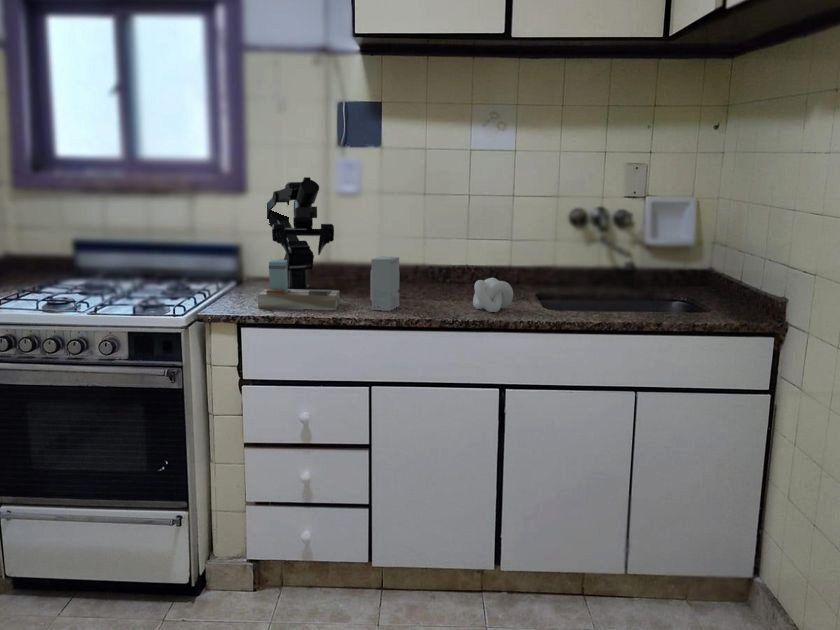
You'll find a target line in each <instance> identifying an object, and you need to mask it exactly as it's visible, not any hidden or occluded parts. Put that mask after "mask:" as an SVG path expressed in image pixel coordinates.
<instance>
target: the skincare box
mask: <svg viewBox="0 0 840 630" xmlns="http://www.w3.org/2000/svg"><path fill="white" fill-rule="evenodd" d="M371 265H372V268H371V269H372V301H371V310H372V311H380V310H381V311H380V312H392V311H393V310H395V309H397V308H399V307H400V257H399V256H378V257H373V258H371ZM396 307H397V308H396ZM394 308H395V309H394ZM391 310H392V311H391Z"/></svg>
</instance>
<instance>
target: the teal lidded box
mask: <svg viewBox="0 0 840 630" xmlns="http://www.w3.org/2000/svg"><path fill="white" fill-rule="evenodd" d="M287 267H288V263H287V260H284V259H271V260H270V261H268V277H269V289H270V290H285V294H288V286H289V285H288V284H289V279H288V271H287Z"/></svg>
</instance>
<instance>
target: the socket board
mask: <svg viewBox="0 0 840 630" xmlns="http://www.w3.org/2000/svg"><path fill="white" fill-rule="evenodd" d="M340 294H341V293H340V290H339V289H288V294H285V290H270V288H264V289H263V290H262V291H261V292H259V293H258V294H257V309H258V308H259V309H261V308H262V309H264V310H265V309H266V310H303V309H312V310H311V311H314V310H315V311H316V310H317V311H336V309H338V307H339V306H340V303H341V300H340V299H341V298H340V297H341V295H340Z"/></svg>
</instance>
